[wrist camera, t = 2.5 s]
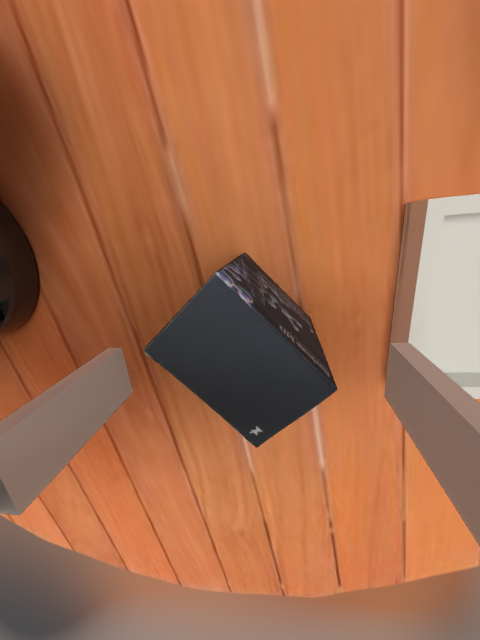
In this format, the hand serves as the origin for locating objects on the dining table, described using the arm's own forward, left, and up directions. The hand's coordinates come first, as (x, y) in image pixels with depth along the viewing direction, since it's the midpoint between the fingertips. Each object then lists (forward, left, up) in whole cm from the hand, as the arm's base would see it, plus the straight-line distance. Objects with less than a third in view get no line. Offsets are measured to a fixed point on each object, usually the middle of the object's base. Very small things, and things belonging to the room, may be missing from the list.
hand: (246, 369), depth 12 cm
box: (0, 0, -10) cm, 10 cm away
